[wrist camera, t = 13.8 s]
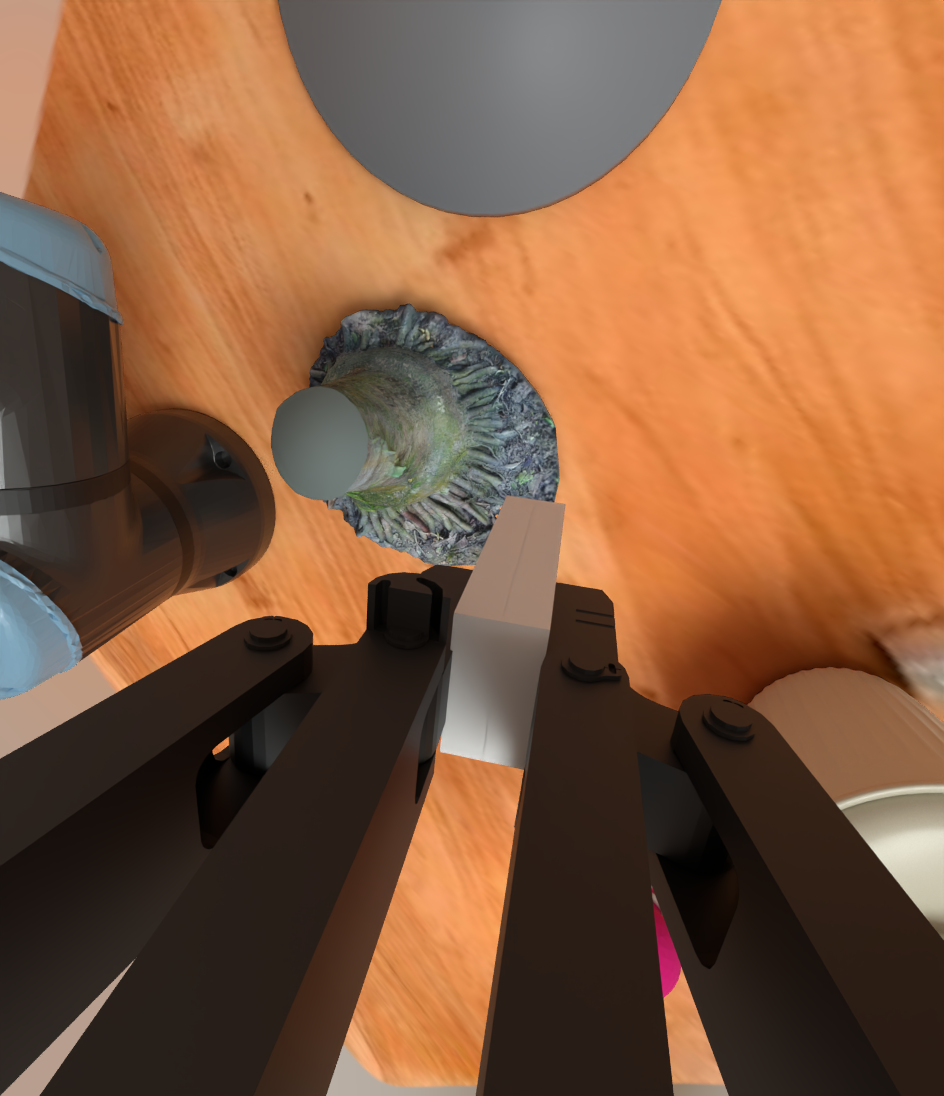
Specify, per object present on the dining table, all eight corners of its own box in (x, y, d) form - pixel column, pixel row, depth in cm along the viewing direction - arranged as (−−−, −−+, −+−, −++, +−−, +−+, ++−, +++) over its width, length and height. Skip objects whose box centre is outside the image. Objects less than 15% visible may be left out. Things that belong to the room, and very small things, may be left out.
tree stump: (423, 607, 51) (292, 690, 35) (308, 408, 52) (125, 397, 35) (610, 500, 44) (556, 541, 28) (474, 270, 45) (342, 175, 28)
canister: (863, 584, 43) (1084, 800, 24) (993, 752, 46) (1285, 1067, 27) (654, 703, 50) (696, 948, 31) (779, 844, 53) (890, 1149, 33)
